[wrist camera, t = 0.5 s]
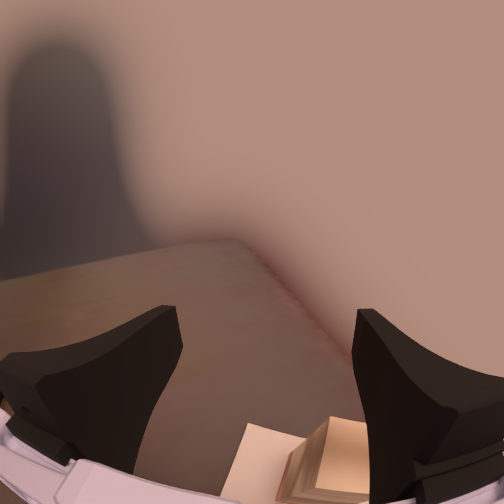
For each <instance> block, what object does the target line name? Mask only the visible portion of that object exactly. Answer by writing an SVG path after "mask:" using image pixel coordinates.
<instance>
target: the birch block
mask: <svg viewBox="0 0 504 504" xmlns="http://www.w3.org/2000/svg"><path fill="white" fill-rule="evenodd" d="M369 489H370V471H369V447H368V435H367V425H366V423H361V422H356V421H351V420H346V419H341V418H336V417H332V416H330V417H329V418H328V419H327V420H326V421H325V422H324V423H323V424H322V425H321V426H320V427H319V428H318V429H317V430H316V431H314V432H313V433H312V434H311V435H310V436H309V437H308V438H307V439H306V440H305V441H303V442H302V443H301V444H300V445H299V446H298V447H297V448H295V449H294V450H293V451H292V452H291V453H290V454H289V456H288V459H287V463H286V466H285V470H284V473H283V476H282V479H281V483H280V486H279V489H278V492H277V495H276V498H275V501H277V502H282V503H287V504H359V503H363V502H366V501H369Z"/></svg>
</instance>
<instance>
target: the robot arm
mask: <svg viewBox="0 0 504 504" xmlns="http://www.w3.org/2000/svg"><path fill="white" fill-rule="evenodd" d="M182 349H183V343H182V339H181V334H180V329H179V323H178V318H177V313H176V307H175V306H168V305H161V306H158V307H156V308H154V309H152V310H150V311H148V312H146V313H144V314H142V315H140V316H138V317H136V318H134V319H132V320H130V321H128V322H126V323H125V324H122V325H120V326H118V327H116V328H114V329H112V330H110V331H108V332H106V333H103V334H101V335H99V336H96V337H93V338H91V339H88V340H85V341H82V342H79V343H75V344H71V345H68V346H64V347H60V348H55V349H49V350H43V351H34V352H17V353H10V354H8V355H7V356H6V357H5V358H3V359H2V360H1V361H0V390H1V392H2V394H3V395H4V397H5V398H6V400H7V402H8V403H9V405H10V406H11V408H12V409H13V411H14V412H15V414H14V415H13V416H12V417H10V416H9V415H8V413H6V412H5V411H4V410H2V409H1V408H0V480H1V481H2V482H3V483H4V484H5V485H7V486H8V487H9V488H10V489H11V490H13V491H14V492H15V493H16V494H18V495H19V496H20V497H21V498H23V499H24V500H25V501H27V502H28V503H29V504H244V503H242V502H239V501H236V500H231V499H227V498H222V497H218V496H214V495H210V494H204V493H199V492H194V491H189V490H184V489H180V488H176V487H171V486H167V485H164V484H160V483H156V482H153V481H149V480H146V479H143V478H139V477H136V476H133V471H134V466H135V462H136V459H137V455H138V451H139V448H140V445H141V441H142V438H143V435H144V432H145V429H146V427H147V424H148V421H149V419H150V416H151V413H152V411H153V409H154V407H155V405H156V403H157V401H158V399H159V397H160V395H161V394H162V392H163V390H164V388H165V386H166V384H167V383H168V381H169V379H170V377H171V375H172V373H173V371H174V370H175V368H176V366H177V363H178V360H179V358H180V355H181V352H182ZM352 361H353V369H354V375H355V379H356V383H357V387H358V390H359V394H360V398H361V402H362V406H363V410H364V415H365V420H366V425H367V435H368V447H369V471H370V489H369V504H504V456H503V453H502V452H503V451H504V441H503V439H504V378H503V377H498V376H492V375H487V374H484V373H481V372H477V371H474V370H471V369H468V368H465V367H463V366H460V365H458V364H456V363H453V362H451V361H448V360H446V359H444V358H442V357H440V356H439V355H437V354H435V353H433V352H431V351H429V350H428V349H426V348H425V347H423V346H421V345H420V344H418V343H417V342H415V341H414V340H413V339H411V338H410V337H408V336H407V335H405V334H404V333H403V332H402V331H400V330H399V329H398V328H397V327H395V326H394V325H393V324H392V323H390V322H389V321H388V320H387V319H385V318H384V317H383V316H382V315H381V314H379V313H378V312H377V311H375V310H374V309H358V310H357V318H356V326H355V332H354V339H353V345H352Z"/></svg>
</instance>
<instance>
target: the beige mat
mask: <svg viewBox="0 0 504 504" xmlns="http://www.w3.org/2000/svg"><path fill="white" fill-rule="evenodd" d="M305 440H306V439H304V438H300V437H296V436H292V435H288V434H284V433H281V432H277V431H273V430H270V429H266V428H263V427H260V426H256V425H253V424H250V423H248V425H247V427H246V430H245V433H244V435H243V438H242V441H241V443H240V446H239V449H238V451H237V454H236V457H235V459H234V462H233V464H232V467H231V469H230V472H229V475H228V477H227V480H226V482H225V485H224V487H223V489H222V492H221V494H220V497H222V498H227V499H231V500H236V501H239V502H242V503H244V504H287V503H282V502H277V501H275V498H276V495H277V492H278V489H279V486H280V483H281V479H282V476H283V473H284V470H285V466H286V463H287V459H288V456H289V454H290V453H291V452H292V451H293V450H294V449H295V448H297V447H298V446H299V445H300V444H301V443H302V442H303V441H305ZM359 504H369V501H366V502H363V503H359Z"/></svg>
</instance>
